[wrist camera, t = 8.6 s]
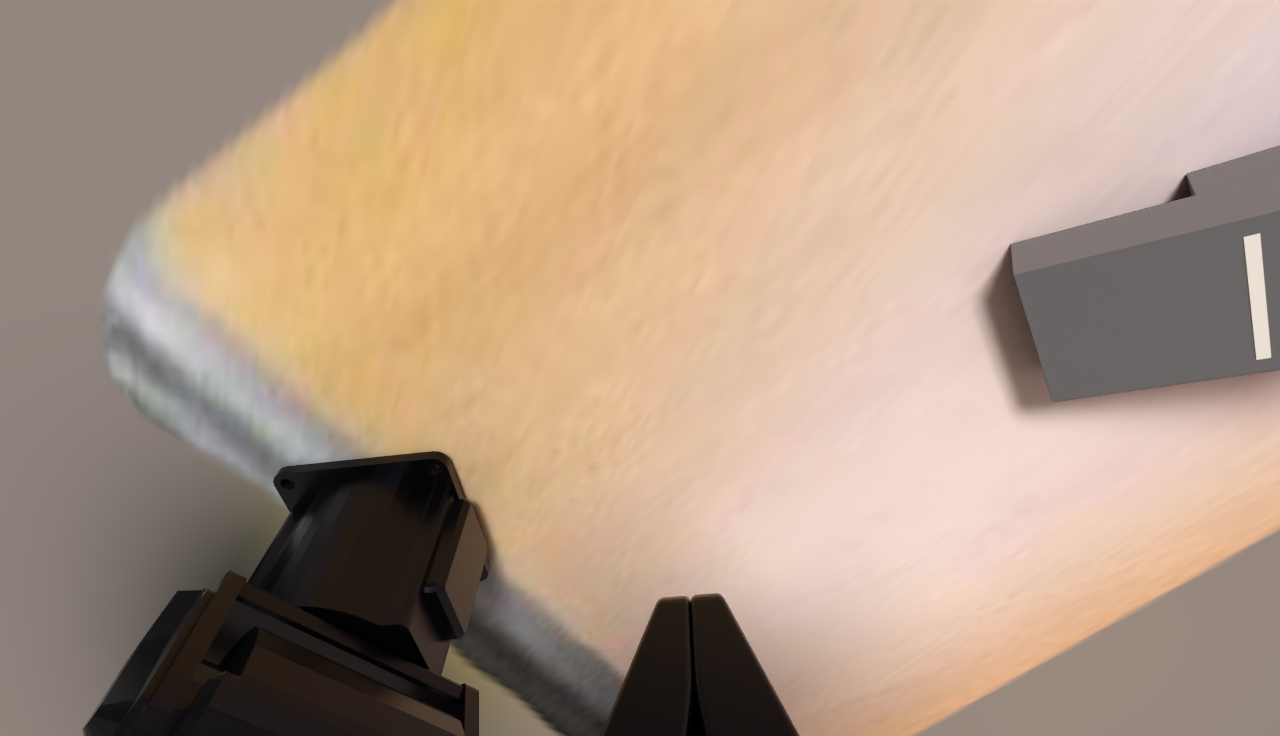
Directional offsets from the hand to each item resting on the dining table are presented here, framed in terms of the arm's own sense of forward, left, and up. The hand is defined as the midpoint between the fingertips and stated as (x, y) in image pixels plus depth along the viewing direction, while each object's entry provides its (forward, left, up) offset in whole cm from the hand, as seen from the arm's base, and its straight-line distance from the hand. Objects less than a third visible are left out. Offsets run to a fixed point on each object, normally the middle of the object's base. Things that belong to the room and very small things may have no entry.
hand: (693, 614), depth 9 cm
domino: (+11, -4, -12) cm, 17 cm away
